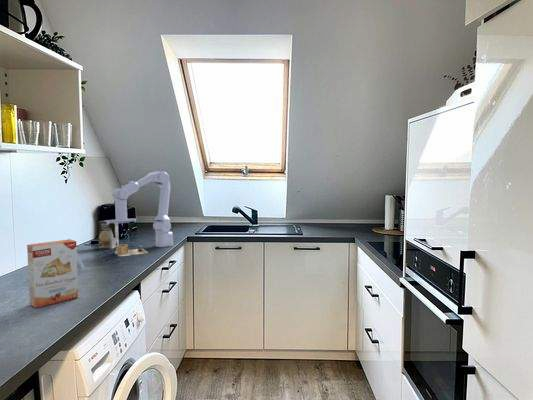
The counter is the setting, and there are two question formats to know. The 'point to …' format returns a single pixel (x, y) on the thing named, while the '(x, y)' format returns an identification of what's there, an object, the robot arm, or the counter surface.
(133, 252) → the maple board
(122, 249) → the bronze ring
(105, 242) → the coffee box
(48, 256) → the cracker box
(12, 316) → the counter surface
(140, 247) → the stand rod
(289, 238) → the counter surface
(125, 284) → the counter surface
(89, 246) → the counter surface
